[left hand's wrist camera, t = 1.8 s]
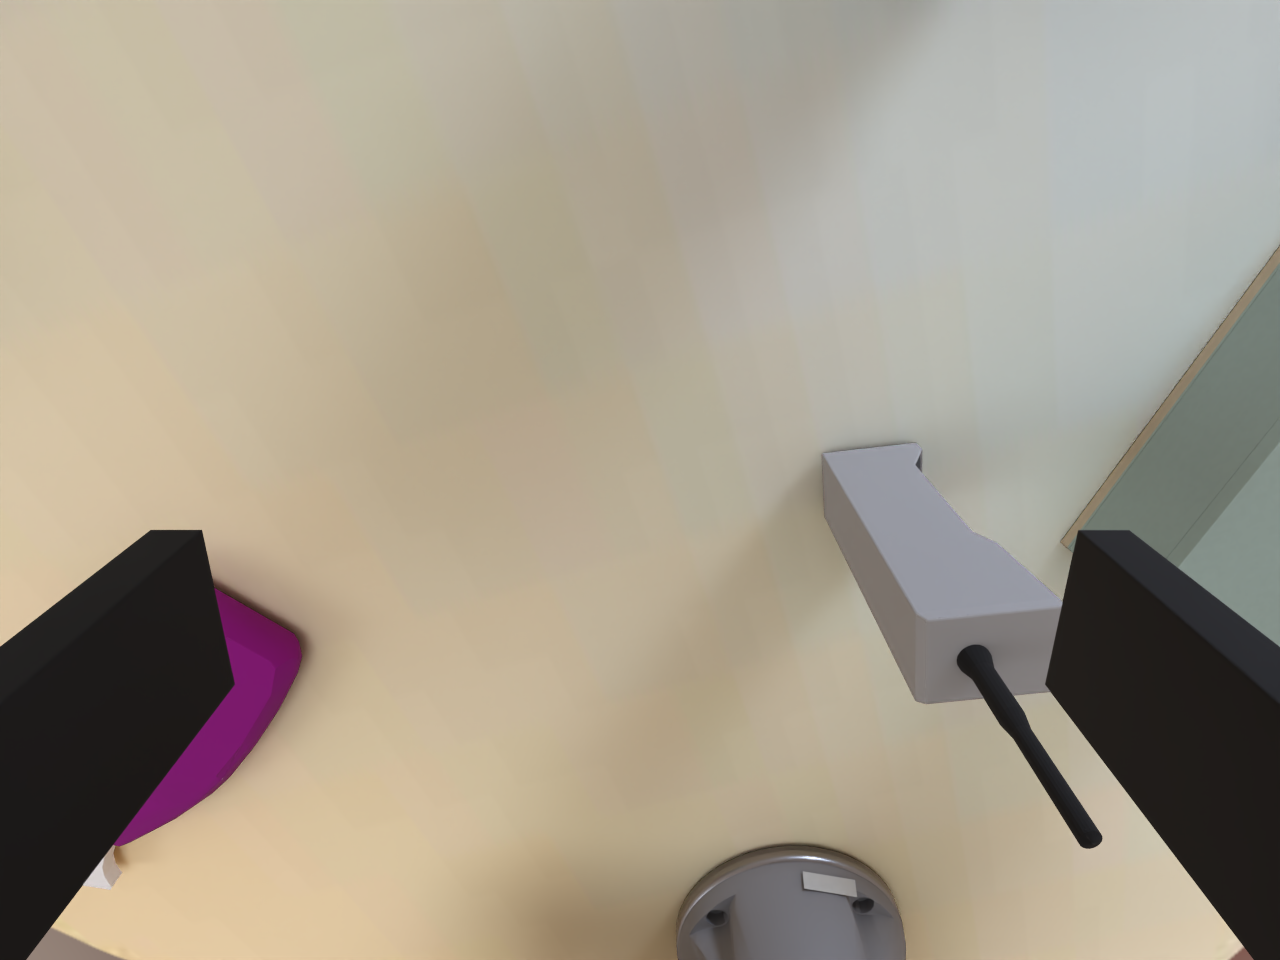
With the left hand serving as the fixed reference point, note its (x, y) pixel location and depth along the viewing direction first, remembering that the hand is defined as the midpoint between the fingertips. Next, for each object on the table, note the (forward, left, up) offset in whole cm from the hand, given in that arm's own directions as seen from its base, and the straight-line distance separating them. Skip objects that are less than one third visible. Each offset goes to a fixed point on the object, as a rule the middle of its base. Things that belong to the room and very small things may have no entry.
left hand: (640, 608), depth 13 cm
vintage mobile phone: (-11, -11, -30) cm, 34 cm away
